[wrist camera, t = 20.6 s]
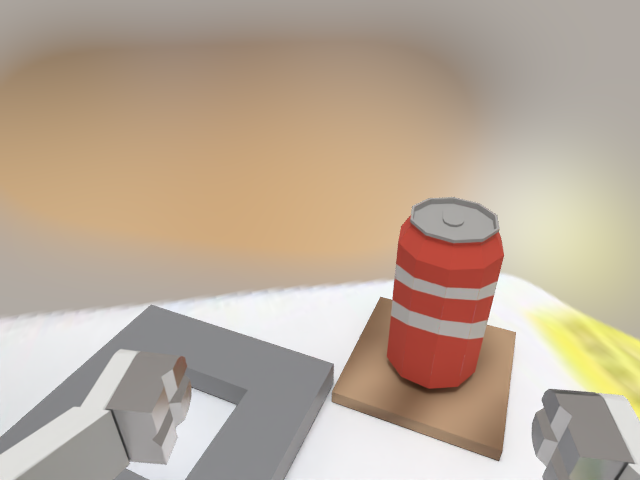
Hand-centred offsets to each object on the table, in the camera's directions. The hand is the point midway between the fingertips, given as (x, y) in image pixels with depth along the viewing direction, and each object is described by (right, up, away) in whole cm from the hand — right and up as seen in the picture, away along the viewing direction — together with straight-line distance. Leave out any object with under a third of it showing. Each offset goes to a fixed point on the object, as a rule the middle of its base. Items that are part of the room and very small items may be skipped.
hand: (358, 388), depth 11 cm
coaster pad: (+7, -6, +24) cm, 26 cm away
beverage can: (+7, -6, +23) cm, 25 cm away
